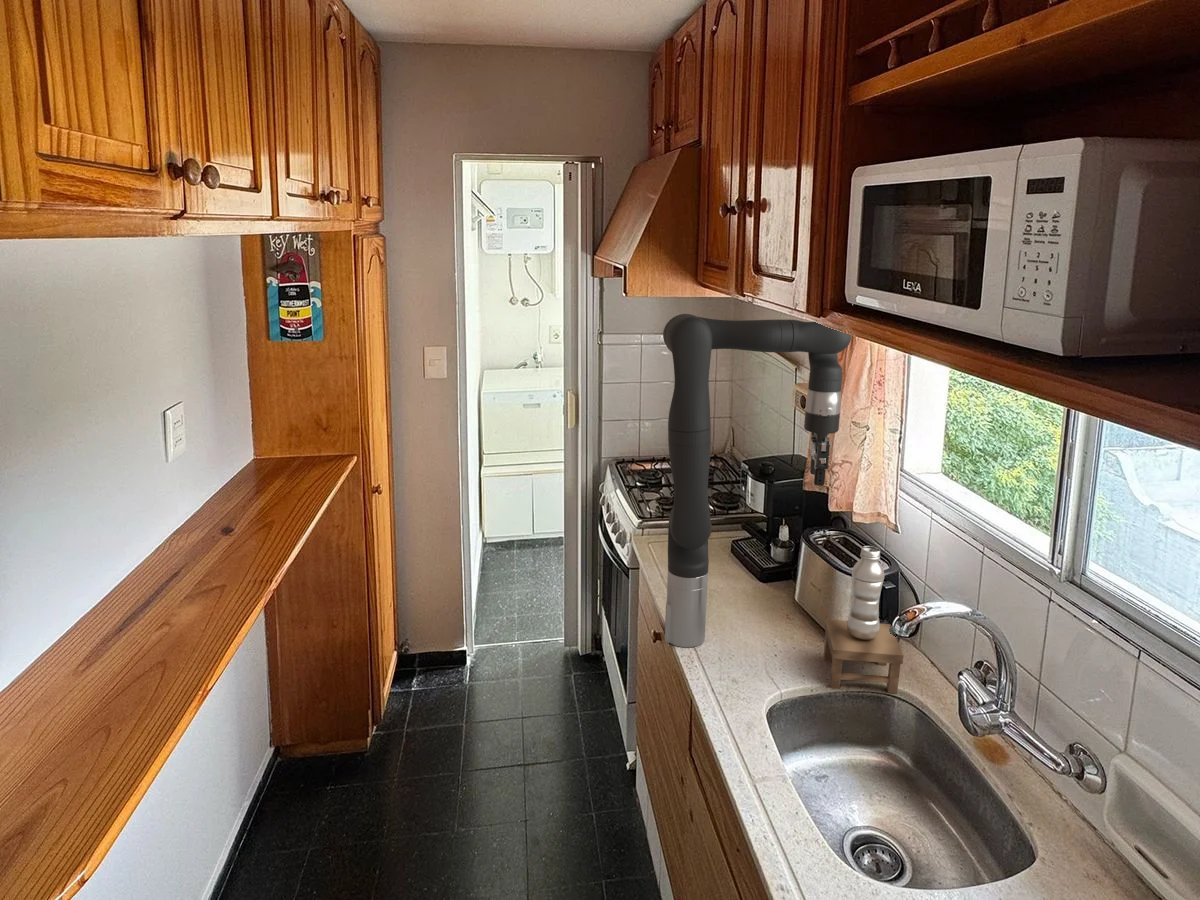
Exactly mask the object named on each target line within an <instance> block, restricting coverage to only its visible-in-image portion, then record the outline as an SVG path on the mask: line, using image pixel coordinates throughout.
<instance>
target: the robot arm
mask: <svg viewBox="0 0 1200 900" xmlns="http://www.w3.org/2000/svg"><path fill="white" fill-rule="evenodd" d="M662 338H663V342H664V344H665V347H667V349H668V350H669V351H670V352H671V354H672V355H671V356H672V362H673V372H674V373H673V374H674V376H673V377H674V388H673V392H672V398H671V401H670V406H669V411H668V419H667V429H668V430H667V434H668V435H667V436H668V437H667V438H668V439H667V440H668V455H669V462H670V468H671V469H670V470H671V476H672V480H673V507H672V508H671V510H670V512H669V514H668V515H669V516H668V529H667V532H668V535H667V540H668V541H667V583H666V584H667V585H666V586H667V587H666V589H667V590H666V601H665V616H664V617H665V619H664V621H665V622H664V623H665V624H664V643H668V644H671V645H673V646H675V647H676V646H677V647H680V648H681V647H682V648H694V647H698V646H700V645H702V644H703V643H704V642H705V639H706V625H707V624H706V620H707V603H708V602H707V601H708V600H707V599H708V581H709V579H708V578H709V567H710V566H709V565H710V564H709V563H710V562H709V539H710V537H711V534H712V531H713V529H712V528H713V526H712V520H711V515H710V514H711V513H710V505H709V492H708V490H709V489H708V488H709V487H708V486H709V475H710V474H709V473H710V463H711V447H712V446H711V445H712V437H711V436H712V435H711V434H712V433H711V432H712V430H711V428H712V427H711V426H712V423H711V400H710V388H709V387H710V386H709V382H710V381H709V379H710V378H709V377H710V369H711V359H712V350H739V351H747V352H749V351H750V352H760V353H797V352H799V353H800V352H801V353H808V363H809V376H808V388H807V394H806V398H805V399H806V400H805V409H804V410H805V412H804V421H803V422H804V423H803V429H804V430H805V431H807V432H808V433H811V436H810V438H809V439H810V440H809V444H810V445H809V453H810V454H809V456H810V467H809V468H810V469H809V474H810V475H814V478H813V484H814V486H818V487H819V486H820V487H823V486H824V485H825V482H826V470H828V469H829V467H830V466H829V459H830V447H831V440H830V438H829V437H828V436H829V435H830V434H836V433H838V432H839V429H840V418H841V409H842V408H841V407H842V385H843V368H842V366H841V364H840V363H839V360H838V354H839V353H842V352H843V351H844V350H846V349H847V348H848V347H849V345H850V343H851V340H852V334H851V335H849V334H845V333H843V332H840V331H837V330H834V329H831V328H828V327H825V326H823V325H821V324H818V323H816V322H815V321H803V320H798V319H752V320H750V319H749V320H731V319H728V320H727V319H715V318H708V317H707V318H706V317H701V316H697V315H694V314H690V313H680V314H678V315H675V316H673V317H671V318H670V319H669V320H668V322H666V324H665V325H664V328H663V331H662ZM822 461H823V463H822Z"/></svg>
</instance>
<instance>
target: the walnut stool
mask: <svg viewBox="0 0 1200 900" xmlns="http://www.w3.org/2000/svg"><path fill="white" fill-rule="evenodd" d="M824 621H825V622H824V630H825V635H824V636H825V637H824V638H825V639H824V648H823V660H824V661H828V662H831V665H830V667H831V668H830V676H829V677H830V678H829V685H830V688H831V689H840V688H841V680H846V681H856V682H871V683H883V684H886V691H887V693H888V694H898V690H899V681H900V672H901V665H903V664H904V653H903V651H902V649H901V648H902V647H900V644H899V641H898V639H897V636H896V635H895V636H896V637H895V636H893V635H892V634H890V632H889V628H890V626H891V627H892V625H891V623H881V622H879V624H880V629H879V632H878V635H877V636H876V637H875V638H874V639H871V640H862V639H858V638H855V637H853V636H851V635H850V633H849V632H848V630H847V620H839V619H827V618H826V619H825V620H824ZM844 660H845V661H856V662H857V661H859V662H869V663H877V665H878V666H887V665H888V672H887V675H886V676H885V675H875V674H874V675H873V674H863V673H850V672H842V670H843V661H844Z"/></svg>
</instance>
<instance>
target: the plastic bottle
mask: <svg viewBox="0 0 1200 900" xmlns="http://www.w3.org/2000/svg"><path fill="white" fill-rule="evenodd" d="M859 557H860V559H859V560H858V561H856V563H855V564H854V565H853V567H852V569H851V581H852V583H851V584H852V599H851V605H850V609H849V610H850V611H849V614H848V616H847V620H846V621H847V630H848V632H849V633H850V635H851V636H853V637H855V638H858V639H862V640H871V639H874V638H875V637H876V636H877V635H878V632H879V629H880V624H879V623H880V618H879V616H880V611H879V610H880V609H879V608H880V607H879V606H880V598H881V592H882V588H883V583H884V580H885V570H884V568H883V566H882V564H881V563H880V562H879V560H880V559H881V549H880V548H879V547H877V546H872V545H864V546H862V547H861V551H860V556H859Z"/></svg>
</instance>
